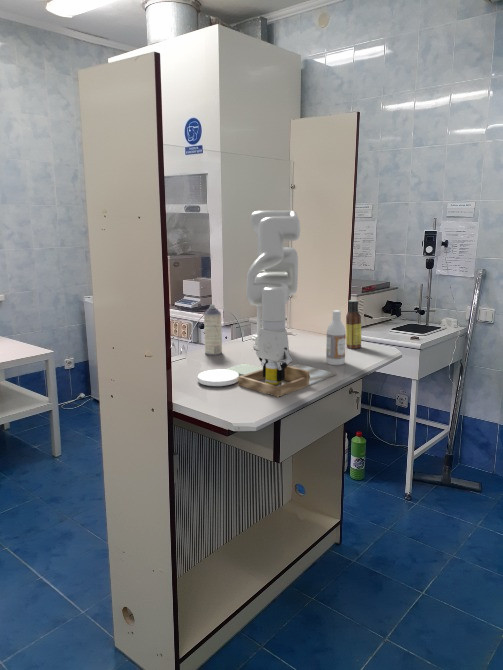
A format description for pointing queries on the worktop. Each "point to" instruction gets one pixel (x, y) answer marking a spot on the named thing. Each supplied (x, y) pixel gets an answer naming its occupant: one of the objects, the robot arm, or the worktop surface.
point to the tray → (244, 369)
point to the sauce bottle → (353, 326)
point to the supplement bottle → (272, 373)
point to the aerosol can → (213, 331)
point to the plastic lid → (218, 377)
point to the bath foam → (336, 341)
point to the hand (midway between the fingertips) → (273, 378)
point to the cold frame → (294, 374)
